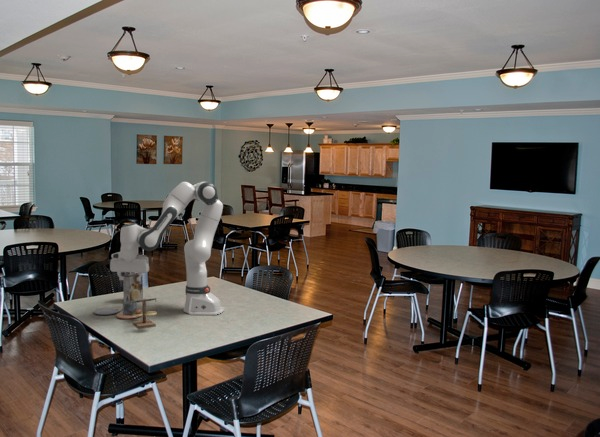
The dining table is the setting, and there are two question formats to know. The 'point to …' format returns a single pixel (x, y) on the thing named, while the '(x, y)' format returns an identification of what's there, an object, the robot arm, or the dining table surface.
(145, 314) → the balance
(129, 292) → the coffee box
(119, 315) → the terracotta dish
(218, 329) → the dining table surface
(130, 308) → the block
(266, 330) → the dining table surface
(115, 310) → the grey dish
